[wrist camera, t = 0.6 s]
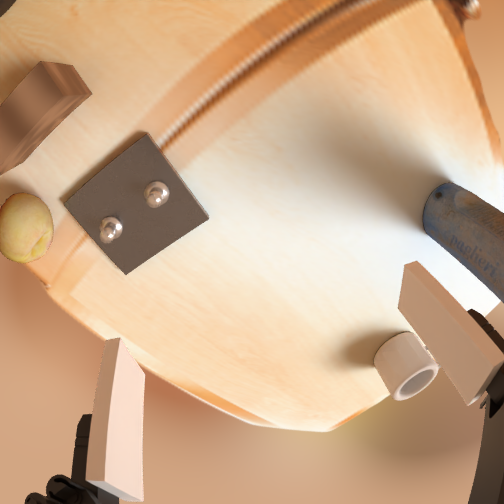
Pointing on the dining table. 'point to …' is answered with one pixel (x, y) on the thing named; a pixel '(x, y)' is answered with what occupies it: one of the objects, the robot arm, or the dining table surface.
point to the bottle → (468, 232)
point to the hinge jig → (136, 206)
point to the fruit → (25, 228)
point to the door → (37, 110)
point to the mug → (405, 365)
